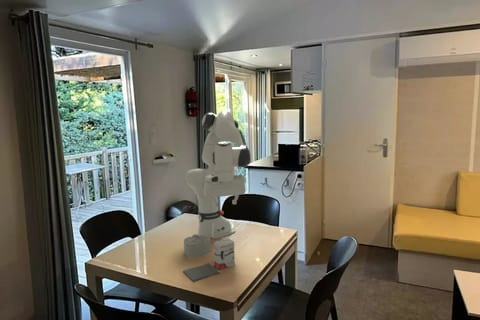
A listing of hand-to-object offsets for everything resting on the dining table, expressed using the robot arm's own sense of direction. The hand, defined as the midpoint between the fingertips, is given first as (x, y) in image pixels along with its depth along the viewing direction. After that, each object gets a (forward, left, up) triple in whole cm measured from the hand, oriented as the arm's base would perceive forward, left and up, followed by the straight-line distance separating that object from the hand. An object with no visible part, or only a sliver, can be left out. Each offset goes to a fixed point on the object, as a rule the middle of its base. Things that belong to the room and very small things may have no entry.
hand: (225, 205), depth 162 cm
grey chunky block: (+8, -16, -28) cm, 33 cm away
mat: (+16, +5, -27) cm, 32 cm away
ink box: (+4, +5, -28) cm, 28 cm away
